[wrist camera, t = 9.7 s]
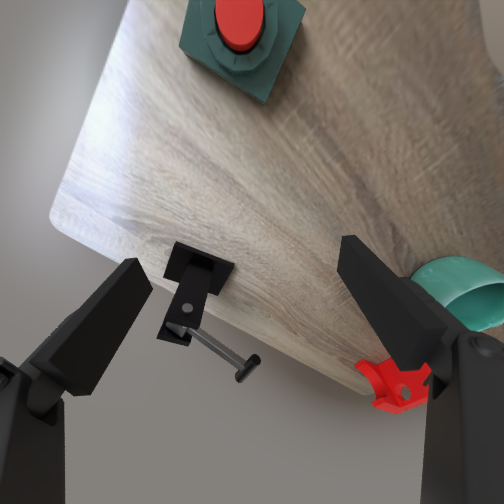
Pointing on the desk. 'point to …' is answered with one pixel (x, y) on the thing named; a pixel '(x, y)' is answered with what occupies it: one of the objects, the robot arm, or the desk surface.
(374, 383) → the bracket
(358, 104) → the desk surface
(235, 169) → the desk surface
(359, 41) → the desk surface
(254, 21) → the button
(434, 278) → the mug
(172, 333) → the bracket
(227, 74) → the button box
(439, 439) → the robot arm
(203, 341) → the lever
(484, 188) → the desk surface
